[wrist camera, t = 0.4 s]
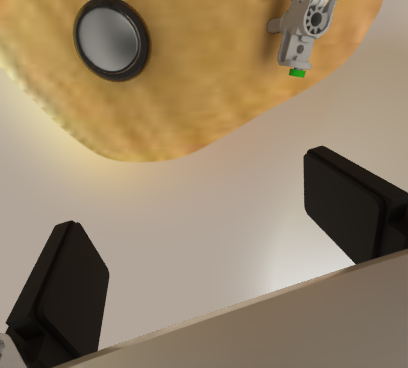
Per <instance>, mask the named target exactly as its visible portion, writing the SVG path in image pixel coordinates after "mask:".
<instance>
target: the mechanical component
mask: <svg viewBox="0 0 408 368" xmlns="http://www.w3.org/2000/svg"><path fill="white" fill-rule="evenodd" d="M327 1H328V0H291V4H290V8H289V10H288V11H286V12H285V13H284V14H283V16H282V17H280V18H275V19H272V20H270V21H269V22H268V23H267V31H269V32H273V33H282V34H283V36H282V40H281V45H280V49H279V53H278V63H279V65H282V66H288V67H294V69H290V72H289V75H291V76H297V77H304V75H305V72H306V71H302V70H303V69H307V70H310V69H311V66H312V63H308V61H309V57H310V54H311V51H312V47H313V44H314V40H315V39H319V38H320V36H321V35H323V34H324V33H325V32H326V31H327V30H328V28H329V27H330V25H331V22H332V17H333V11H334V8H335V5H336V1H337V0H330V1H329V2H328V4H327V5H326V6H325V7H324V5H325V4H326V3H327Z"/></svg>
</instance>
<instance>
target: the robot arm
mask: <svg viewBox="0 0 408 368" xmlns="http://www.w3.org/2000/svg"><path fill="white" fill-rule="evenodd" d="M304 204H305V205H304V206H305V210H306V212H307V214H308V215H309V216H310V217H311V218H312V219H313V220H314V221H315V222H316V223H317V225H318V226H319V227H320V228H321V229H322V230H323V231H325V233H326V234H327V235H328V236H329V237H330V238H331V239H332V240H333V241H334V242H335V243H336V244H337V245H338V246H339V247H340V248H341V249H342V250H343V251H344V252H345V253H346V255H347V256H348V257H349V258H350V259H352V261H353V262H354V263H355V264H356V265H354V266H350V267H348V268H344V269H341V270H338V271H335V272H332V273H329V274H326V275H323V276H320V277H317V278H314V279H311V280H308V281H304V282H301V283H298V284H295V285H292V286H289V287H286V288H283V289H280V290H277V291H274V292H271V293H268V294H265V295H262V296H259V297H256V298H253V299H250V300H247V301H244V302H241V303H238V304H235V305H232V306H229V307H226V308H223V309H220V310H217V311H214V312H211V313H208V314H206V315H202V316H199V317H196V318H193V319H190V320H187V321H184V322H181V323H178V324H175V325H173V326H170V327H167V328H164V329H161V330H158V331H155V332H152V333H149V334H146V335H143V336H140V337H137V338H134V339H131V340H128V341H125V342H122V343H119V344H117V345H114V346H111V347H108V348H105V349H102V350H99V351H98V345H99V338H100V332H101V326H102V320H103V313H104V307H105V301H106V294H107V288H108V282H109V271H108V268H107V266H106V265H105V263H104V262H103V260H102V259H101V257H100V255H99V253H98V252H97V250H96V248H95V247H94V245H93V244H92V242H91V240H90V239H89V237H88V235H87V234H86V232H85V230H84V229H83V227H82V226H81V224H80V223H78V222H77V223H75V222H74V221H68V222H64V223H61V224H58V225H56V226H55V227H54V229H53V231H52V233H51V235H50V237H49V239H48V241H47V243H46V245H45V247H44V248H43V250H42V252H41V254H40V257H39V259H38V261H37V262H36V264H35V266H34V268H33V270H32V272H31V274H30V276H29V278H28V280H27V282H26V284H25V286H24V288H23V290H22V292H21V294H20V296H19V298H18V300H17V301H16V303H15V305H14V307H13V310H12V312H11V313H10V315H9V317H8V319H7V321H6V324H7V325H8V326H9V327H8V329H7V331H6V333H5V334H3V333H0V368H408V193H407V192H406V191H404V190H402V189H400V188H398V187H396V186H395V185H393V184H391V183H389V182H387V181H386V180H384V179H382V178H380V177H378V176H377V175H375V174H373V173H371V172H370V171H368V170H366V169H364V168H362V167H360V166H359V165H357V164H355V163H353V162H351V161H350V160H348V159H346V158H344V157H343V156H341V155H339V154H337V153H336V152H334V151H332V150H330V149H328V148H326V147H324V146H319V147H316V148H313V149H309V150H308V151H307V154H305V155H304Z"/></svg>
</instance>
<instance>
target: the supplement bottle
mask: <svg viewBox="0 0 408 368" xmlns="http://www.w3.org/2000/svg"><path fill="white" fill-rule="evenodd" d="M73 40H74V45H75V48H76V51H77V53H78V55H79V57H80V59H81V60H82V62H83V63H84V64H85V66H86V67H87V68H88V69H89V70H90V71H91V72H93V73H94V74H95V75H97V76H99V77H100V78H102V79H105V80H108V81H112V82H125V81H129V80H132V79H134V78H136V77H137V76H139V75H140V74H141V73H142V72H143V71H144V69H145V68H146V66H147V65H148V63H149V60H150V56H151V50H152V43H151V36H150V33H149V30H148V27H147V25H146V23H145V21H144V20H143V18H142V17H141V15H140V14H139V13H138V12H137V11H136V10H135V9H134V8H133V7H132V6H130V5H129V4H128V3H126V2H124V1H122V0H91V1H89V2H87V3H86V4H85V5H84V6H83V7H82V8H81V9H80V10H79V12H78V14H77V16H76V18H75V21H74V25H73Z"/></svg>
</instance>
